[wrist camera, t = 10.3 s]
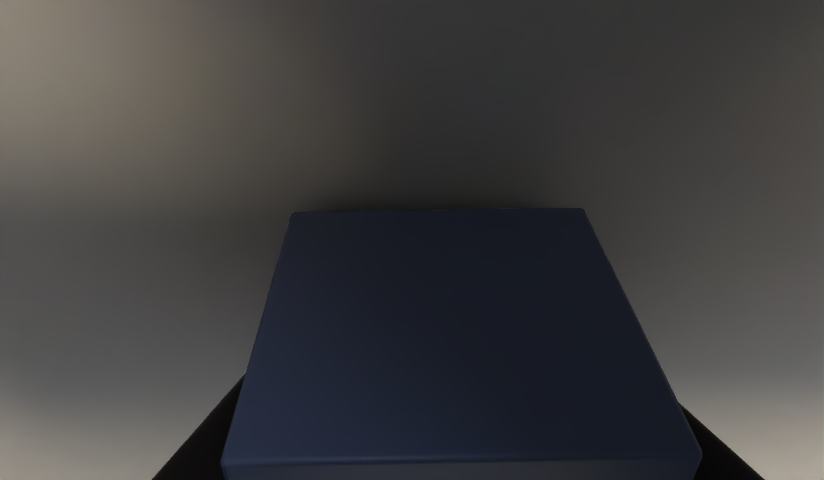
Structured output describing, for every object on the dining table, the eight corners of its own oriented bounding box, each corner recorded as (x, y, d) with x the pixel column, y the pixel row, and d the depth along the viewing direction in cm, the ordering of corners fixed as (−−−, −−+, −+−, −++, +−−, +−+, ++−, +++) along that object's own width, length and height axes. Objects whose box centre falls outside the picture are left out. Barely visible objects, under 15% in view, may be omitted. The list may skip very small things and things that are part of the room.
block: (549, 404, 12) (618, 668, 8) (318, 409, 12) (280, 675, 8) (583, 205, 9) (707, 455, 5) (290, 209, 9) (217, 462, 5)
